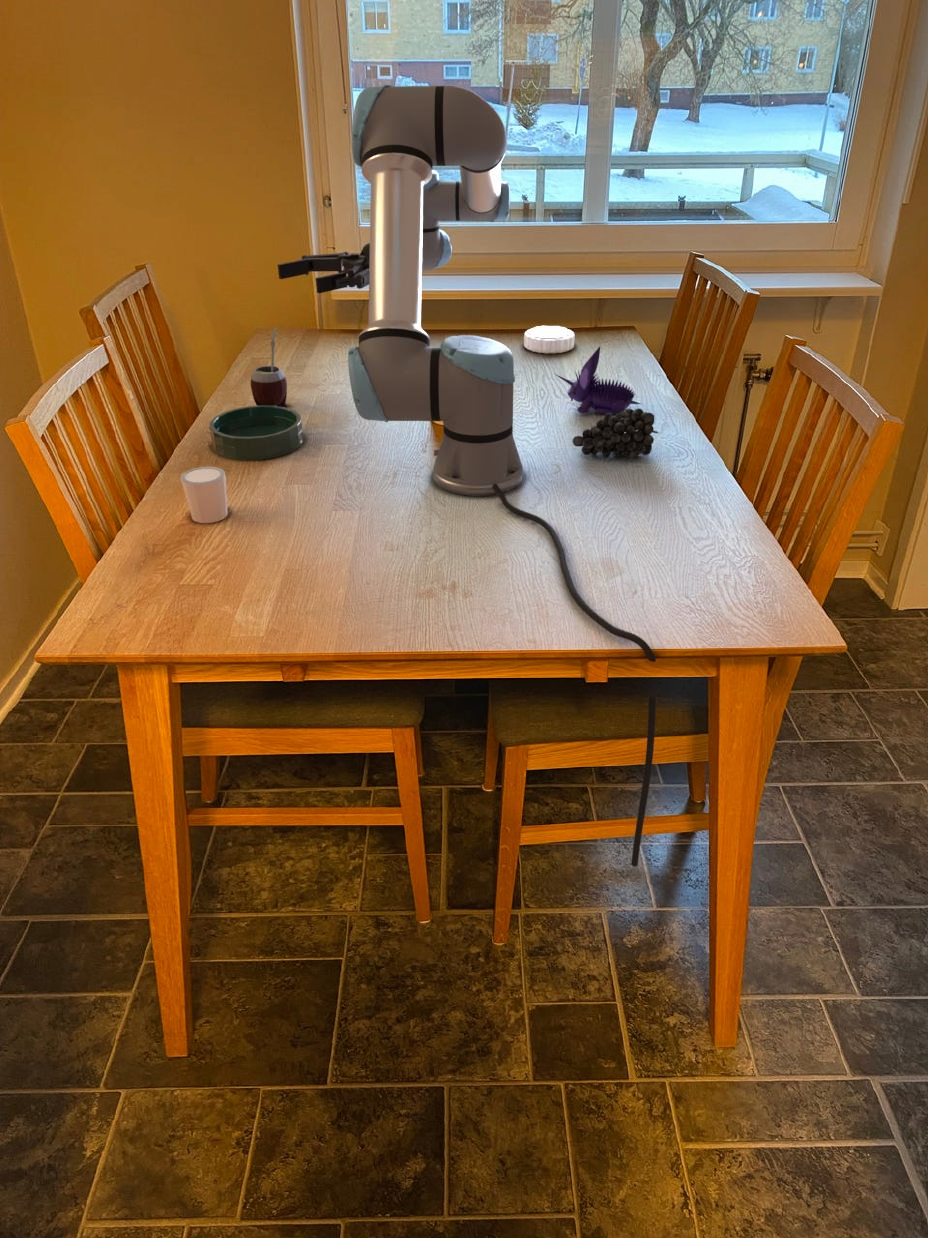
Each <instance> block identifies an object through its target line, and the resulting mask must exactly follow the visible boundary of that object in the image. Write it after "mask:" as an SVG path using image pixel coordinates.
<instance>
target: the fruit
mask: <svg viewBox="0 0 928 1238" xmlns="http://www.w3.org/2000/svg"><path fill="white" fill-rule="evenodd" d="M654 423H655V415H654V414H653V413H652V412H647V411H644V410H643V409H642V408H635V409H634V410H633V409H632V408H626V409H625V410H624V411H622V412H620V413H615V415H614V414H611V413H607V414H604V416H603V419H601V418H600V419H598V420H597V421H596V422H595V425H593V426H591V428H586V429H584V430H583V431H582V435H575V436H573V438H572V444H573V446H574V447H581V453H582V454H583V455H585V456H589V455H594V456H596V455H598V454H599V453H600V454H601V456H602V457H603V458H606V459H607V458H609V457H610V456H611V454H612V456H615V457H621V458H622V457H626V458H628V459H635V458H636V456H638V455H641V454H642V455H644V456H649V455H650V454H651V452H652V450H653V445H652V444H654V441H655V439H654V437H653V435H652V433H654V434H659V432H658V431H656V430H654V426H653V425H654Z"/></svg>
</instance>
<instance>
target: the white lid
mask: <svg viewBox="0 0 928 1238" xmlns="http://www.w3.org/2000/svg"><path fill="white" fill-rule="evenodd" d="M523 335H524V337H523V346H524V348H526V350H528V351H531V352H536V353H538V354H561V353H566V352H569V351H571V350H573V348H574V347H575V338H576V336H575V332H574V331H572V330H571V329H568V328H566V326H565V327H564V326H560V325H540V326H535V327H532V328H530V329H526V331H524V334H523Z"/></svg>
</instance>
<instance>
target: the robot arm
mask: <svg viewBox="0 0 928 1238" xmlns="http://www.w3.org/2000/svg"><path fill="white" fill-rule="evenodd" d="M351 134H352V138H351V150H352V151H351V152H352V153H351V154H352V158H353V161H354V164H355V165H356V166H358V167H360V168H361V174H362V176H363V178H364V179H366V181H367V182H368V183H369V184H370V209H369V210H370V211H369V212H370V213H369V214H370V215H369V242H368V243H366V244H365V245H364V246H363V247H362V249H361V250H360V251H361V252H360V254H359V253H357V252H356V253H350V252H349V251H343V252H337V253H324V254H310V255H309V254H308V255H305V254H304V255H302V256H301V259H297V260H294V261H287V262H284V263H278V264H277V271H278V272H277V273H278V279H280V280H286V279H289V278H294V277H298V276H304V275H305V276H309V275H310V273H311V272H318V273H319V272H337V273H332V274H328V275H324V276H319V277H315V286H316V293H317V294H323V293H327V292H332V291H337V290H341V289H345V288H348V287H349V288H355V287H356V288H357V289H359V290H361V289H363V288H365V287H367V286H368V317H367V318H368V320H367V321H368V322H367V323H368V324H367V326H366V327H365V328H364V329H363V330H362V331H361V332H360V333H359V335H358V346H356V345H354V346H353V347H351V348H349V349H348V352H347V353H348V354H347V366H348V374H349V375H348V376H349V384H350V388H351V394H352V398H353V403H354V406H355V409H356V411H357V414H358V415H359V416H360V417H361V418H362V419H364V420H366V421H379V422H385V423H389V422H443V423H442V426H443V428H442V430H443V431H442V432H443V434H442V438H441V442H440V445H439V448H438V449H434V450H433V457H436V458H435V461H434V464H433V480H434V483H435V484H436V485H437V486H438V487H439V488H441V489H443V490H445V491H447V492H450V493H453V494H456V495H460V496H461V495H463V496H468V497H469V496H470V497H471V496H472V497H483V496H484V497H486V496H494V495H497V497H498V498H499V499H500V501H501V503H502V505H503V507H505V508H506V509H507V510H508V511H510V512H511V513H513V514H515V515H516V516H518V517H521V518H524V519H527V520H529V521H532V522H534V523H537V524H539V525H540V526H541V527H542V528H543V529H545V530H546V532H547V533H548V534H549V536H550V538H551V540H552V542H553V544H554V547H555V549H556V551H557V554H558V560H559V565H560V569H561V573H562V577H563V579H564V582H565V586H566V588H567V590H568V593H569V594H570V596H571V598H572V600H574V603H576V605H577V606H578V607H579V608H580V609H581V610H582V611H583V613H585V614H586V615H587V616H588V617H589V618H590V619H591V620H593V621H594V622H595V623H597V624H598V625H599V626H600V627H602V628H603V629H605V630H606V631H607V632H609V633H610V634H612V635H614V636H616V637H618V638H619V637H620V638H622V639H625V640H628V641H631V642H633V643H635V644H636V645H637V646H639V648H641V650H642V652H643V653H644V654H645V656H646V658H647V660H648V661H649V662H652V663H656V662H657V660H656V656H655V654H654V652H653V650H652V648H651V646H650V645H649V644H648V643H647V641H645V640H644V639H643V638H642V637H640V636H638V635H637V634H634V633H633V632H630V631H626V630H624V629H621V628H619V627H616V626H613V624H611V623H610V622H608V621H607V620H605V619H604V618H603V617H601V616H600V615H599V614H598V613H596V612H595V611H594V610H593V609H592V608H591V607H590V606H589V605H588V604H587V603H586V602H585V601H584V600H583V599H582V597H581V596H580V594H579V593H578V591H577V590H576V587H575V585H574V582H573V580H572V576H571V573H570V570H569V568H568V565H567V564H568V563H567V559H566V554H565V553H566V552H565V550H564V547H563V545H562V543H561V540H560V538H559V536H558V533H556V531H555V529H554V528H553V526H551V524H550V523H548V522H547V521H546V520H545V519H543V518H541V517H540V516H538V515H536V514H534V513H530V512H528V511H525V510H522V509H520V508H517V507H515V506H514V505H513V504H512V503H510V502H509V500H508V499H507V497H506V495H505V494H504V493H506V492H509V491H511V490H514V489H515V488H516V487H518V486H519V485H520V484H521V483H522V480H523V471H524V470H523V464H522V461H521V458H520V454H519V451H518V448H517V445H516V441H515V438H514V430H513V429H514V428H513V427H514V383H515V381H516V376H515V365H514V364H515V363H514V362H515V360H514V356H513V353H512V352H511V349H509V348H508V347H507V346H506V345H505V344H503V343H501V342H500V341H497V340H494V339H491V338H487V337H483V336H477V335H469V334H468V335H467V334H462V335H461V334H459V335H457V336H456V335H451V336H448V337H445V338H443V340H442V342H441V343H440V347H431V338H430V336H429V334H427V332H426V331H425V330H423V328H422V277H423V275H422V274H423V272H426V271H428V272H429V271H433V270H436V269H439V268H441V267H444V266H446V265H447V264H448V263H449V262H450V260H451V257H452V253H453V252H452V251H453V247H452V244H451V242H450V237H449V235H448V234H447V233H446V232H445V231H444V230H442V229H441V227H440V225H441V224H440V222H490V223H494V222H503V221H507V220H508V219H509V217H510V200H511V198H510V197H511V186H510V183H509V182H508V181H506V180H505V181H504V180H502V178H501V177H502V175H501V174H502V172H501V171H502V170H501V168H502V167H501V165H502V161H503V159H504V157H505V155H506V152H507V146H508V145H507V144H508V138H507V137H508V135H507V134H508V133H507V129H506V126H505V124H504V121H503V119H502V118H501V116H500V114H499V112H498V111H497V110H496V109H495V108H494V107H493V106H492V105H491V104H490V102H489V101H487V100H486V99H484V98H483V97H482V96H481V95H479V94H477V93H475V92H474V91H472V90H469V89H468V88H465V87H461V86H457V85H403V86H402V85H399V86H398V85H397V86H396V85H394V86H393V85H390V84H383V85H382V86H368V87H365V88H364V89H362V91H361V92H360V93H359V94H358V96H357V99H356V101H355V105H354V109H353V116H352V126H351ZM446 166H449V167H450V166H451V167H453V166H455V167H456V166H459V173H460V180H440V177H439V173H438V171H436V170H434V169H433V167H446ZM656 699H657V697H656V696H651V697H648V708H647V709H648V711H647V712H648V716H647V720H648V721H647V735H646V750H645V760H644V769H643V778H642V784H641V792H640V799H639V804H638V811H637V818H636V825H635V832H634V838H633V846H632V854H631V864H630V865H631V866H632V867H638V865H639V858H640V848H641V842H642V836H643V835H642V834H643V829H644V828H643V827H644V821H645V814H646V809H647V802H648V797H649V790H650V783H651V776H652V768H653V767H652V766H653V758H654V748H655V737H656V736H655V734H656V733H655V732H656V711H657V705H656V704H657V703H656V701H657V700H656Z"/></svg>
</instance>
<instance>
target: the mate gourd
mask: <svg viewBox="0 0 928 1238" xmlns="http://www.w3.org/2000/svg"><path fill="white" fill-rule="evenodd" d="M277 331H278V326H275V327H274V329H273V333H272V338H271V341H270V347H271V354H270V355H271V356H270V365H266V366H265V365H264V366H260V367H257V368H254V370H253V371H252V374H251V375H250V389H251V393H252V399H253V401H254V403H255V406H258V405H270V406H280V407H286V408H288V404H287V402H286V401H287V396H288V382H287V378H286V375H285V373H284V372H283V370H282V369H280V367H278V366H275V347H276V341H275V340H276V334H277Z"/></svg>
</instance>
